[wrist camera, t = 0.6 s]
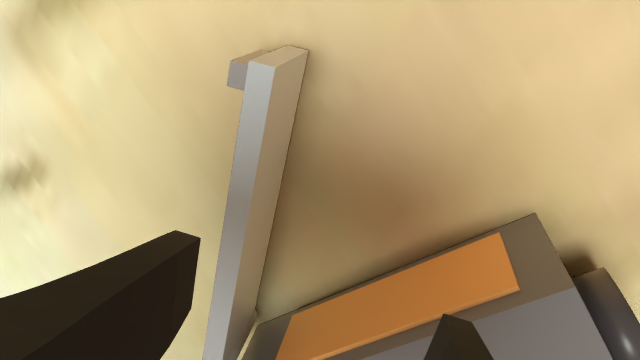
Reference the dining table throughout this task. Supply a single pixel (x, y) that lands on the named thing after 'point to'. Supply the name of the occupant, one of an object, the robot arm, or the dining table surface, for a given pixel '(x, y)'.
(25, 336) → the robot arm
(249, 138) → the grey long bar
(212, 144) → the dining table surface
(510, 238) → the camera body
